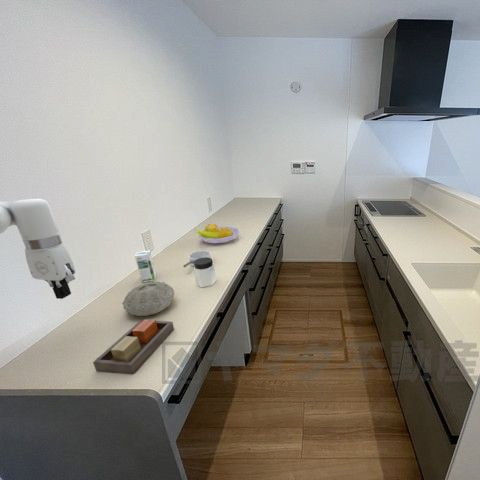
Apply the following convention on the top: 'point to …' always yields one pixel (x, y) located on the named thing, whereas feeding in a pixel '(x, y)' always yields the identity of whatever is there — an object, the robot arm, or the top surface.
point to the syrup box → (145, 266)
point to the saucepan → (197, 256)
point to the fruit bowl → (217, 234)
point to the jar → (204, 272)
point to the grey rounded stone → (148, 298)
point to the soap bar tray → (134, 347)
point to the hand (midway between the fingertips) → (64, 296)
